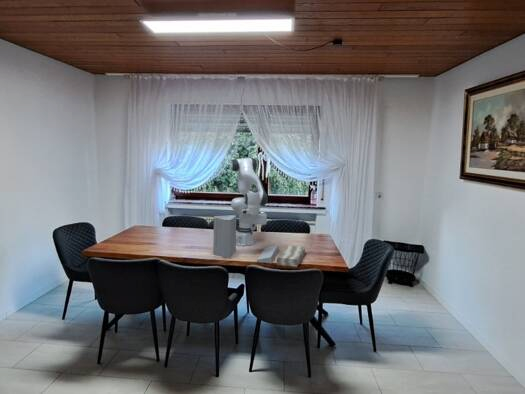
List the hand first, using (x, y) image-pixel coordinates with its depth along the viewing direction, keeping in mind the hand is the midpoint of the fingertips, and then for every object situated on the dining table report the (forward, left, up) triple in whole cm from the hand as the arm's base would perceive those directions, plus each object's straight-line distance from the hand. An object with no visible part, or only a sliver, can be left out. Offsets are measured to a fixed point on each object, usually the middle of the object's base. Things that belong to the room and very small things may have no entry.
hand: (253, 229), depth 272 cm
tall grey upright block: (-21, -6, -19) cm, 29 cm away
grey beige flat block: (+30, 0, -19) cm, 36 cm away
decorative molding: (+12, 0, -20) cm, 23 cm away
